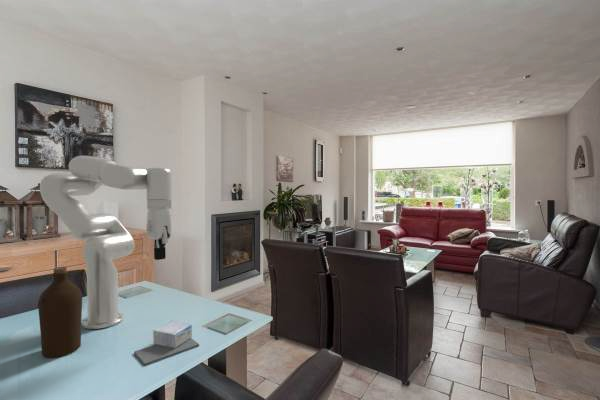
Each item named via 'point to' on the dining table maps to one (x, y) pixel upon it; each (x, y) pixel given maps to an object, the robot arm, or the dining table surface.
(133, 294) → the dining table surface
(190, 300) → the dining table surface
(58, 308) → the olive oil
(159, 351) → the mat
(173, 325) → the medicine box
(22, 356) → the dining table surface
